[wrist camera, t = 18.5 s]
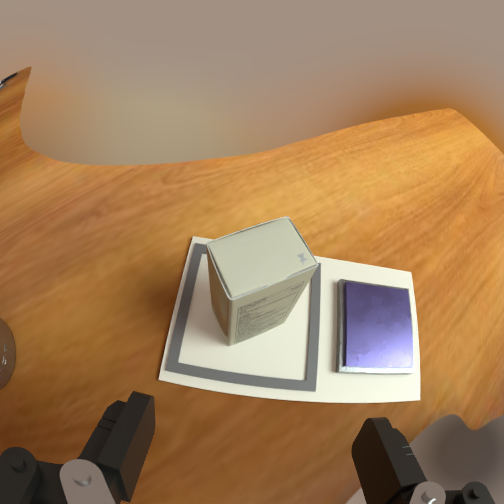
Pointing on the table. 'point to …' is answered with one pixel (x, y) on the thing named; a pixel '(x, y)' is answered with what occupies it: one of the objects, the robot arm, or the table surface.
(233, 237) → the skincare box
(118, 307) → the table surface
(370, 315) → the ink pad
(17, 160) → the table surface
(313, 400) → the marked board
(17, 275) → the table surface
